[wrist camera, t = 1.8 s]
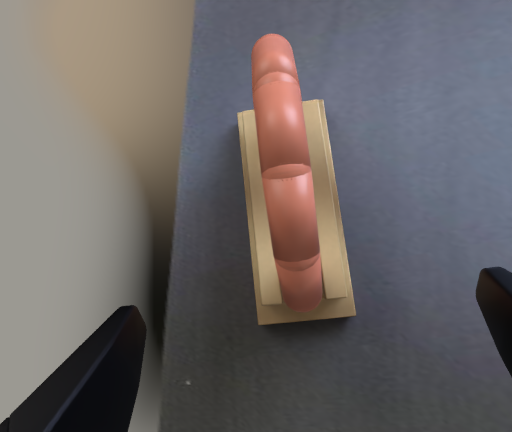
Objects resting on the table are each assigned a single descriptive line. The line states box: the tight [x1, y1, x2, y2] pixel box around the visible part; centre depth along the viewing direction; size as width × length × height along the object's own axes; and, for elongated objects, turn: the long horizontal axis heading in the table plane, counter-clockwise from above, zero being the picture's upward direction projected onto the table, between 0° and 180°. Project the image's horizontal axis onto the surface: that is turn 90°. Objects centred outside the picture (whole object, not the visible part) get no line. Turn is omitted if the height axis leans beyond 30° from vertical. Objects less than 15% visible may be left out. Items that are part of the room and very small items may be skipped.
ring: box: [251, 34, 322, 312], centre depth 15 cm, size 10×1×10 cm, turn 6°
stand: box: [237, 100, 356, 325], centre depth 19 cm, size 12×5×3 cm, turn 6°
